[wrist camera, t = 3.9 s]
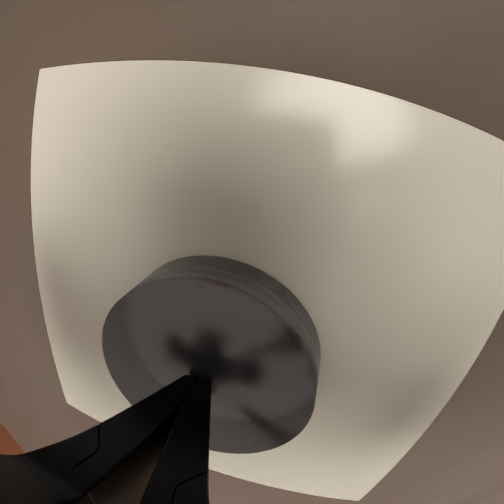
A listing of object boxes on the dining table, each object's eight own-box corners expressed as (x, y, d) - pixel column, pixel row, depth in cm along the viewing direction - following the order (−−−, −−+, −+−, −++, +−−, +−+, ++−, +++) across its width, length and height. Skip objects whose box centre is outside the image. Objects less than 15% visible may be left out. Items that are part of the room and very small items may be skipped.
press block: (498, 155, 10) (552, 168, 6) (360, 449, 17) (358, 501, 13) (100, 75, 13) (40, 69, 9) (100, 366, 20) (67, 402, 16)
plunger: (345, 244, 13) (352, 328, 7) (302, 373, 15) (281, 471, 10) (183, 204, 14) (94, 253, 8) (172, 333, 16) (112, 410, 11)
